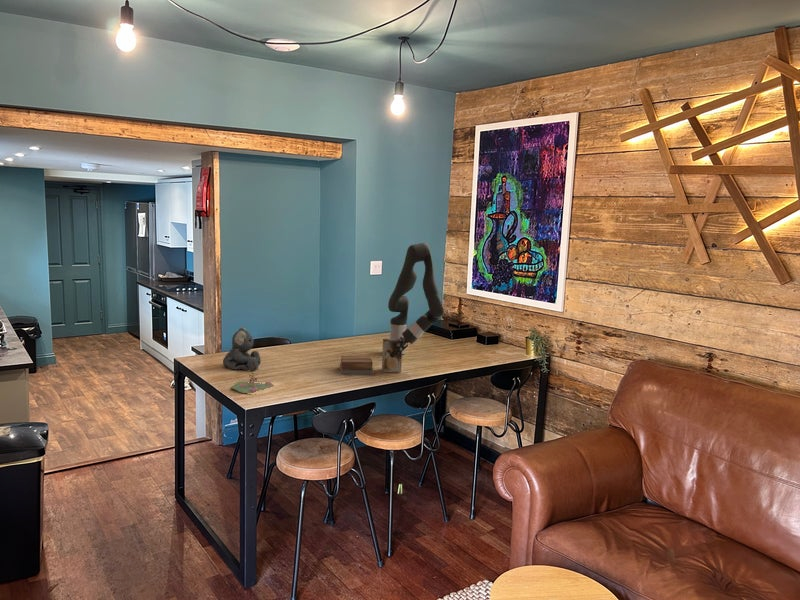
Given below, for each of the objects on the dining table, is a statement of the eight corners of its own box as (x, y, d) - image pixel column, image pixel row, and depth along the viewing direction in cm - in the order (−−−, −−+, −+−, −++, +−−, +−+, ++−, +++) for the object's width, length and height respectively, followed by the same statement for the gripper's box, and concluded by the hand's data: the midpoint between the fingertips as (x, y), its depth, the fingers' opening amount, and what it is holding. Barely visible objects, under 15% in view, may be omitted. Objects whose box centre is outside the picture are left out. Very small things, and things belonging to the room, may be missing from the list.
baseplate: (339, 366, 307) (339, 363, 307) (370, 367, 309) (370, 363, 309) (340, 374, 293) (341, 370, 293) (373, 374, 296) (373, 370, 295)
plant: (274, 378, 283) (274, 360, 281) (296, 389, 267) (296, 370, 266) (223, 386, 267) (223, 366, 266) (243, 398, 251) (243, 377, 250)
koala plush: (258, 371, 291) (258, 332, 288) (219, 371, 288) (220, 331, 285) (261, 362, 308) (261, 325, 305) (225, 362, 305) (225, 324, 302)
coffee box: (398, 368, 309) (400, 338, 307) (401, 372, 303) (402, 341, 300) (381, 368, 307) (382, 338, 305) (383, 372, 301) (384, 341, 299)
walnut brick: (340, 363, 306) (341, 356, 305) (370, 363, 308) (370, 356, 308) (341, 369, 294) (342, 361, 294) (372, 370, 296) (372, 362, 296)
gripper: (406, 325, 310) (383, 346, 310) (410, 330, 296) (386, 352, 296) (415, 335, 311) (392, 356, 311) (420, 341, 297) (396, 363, 297)
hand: (389, 354), depth 304 cm, fingers open, 8 cm apart
